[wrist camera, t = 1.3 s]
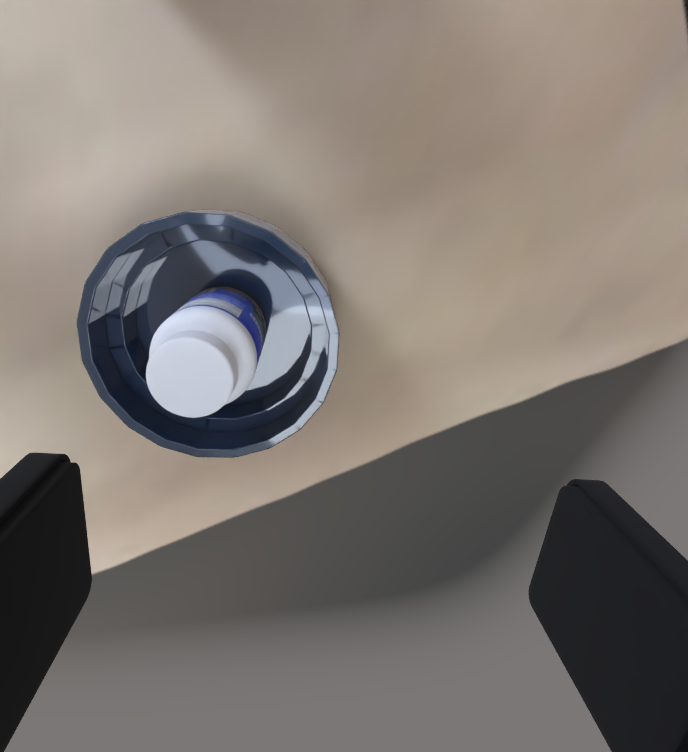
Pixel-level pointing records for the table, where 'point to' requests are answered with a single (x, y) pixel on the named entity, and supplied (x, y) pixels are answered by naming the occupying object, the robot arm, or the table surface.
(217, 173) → the table surface
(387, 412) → the table surface
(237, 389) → the pill bottle
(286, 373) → the bowl
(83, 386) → the table surface
